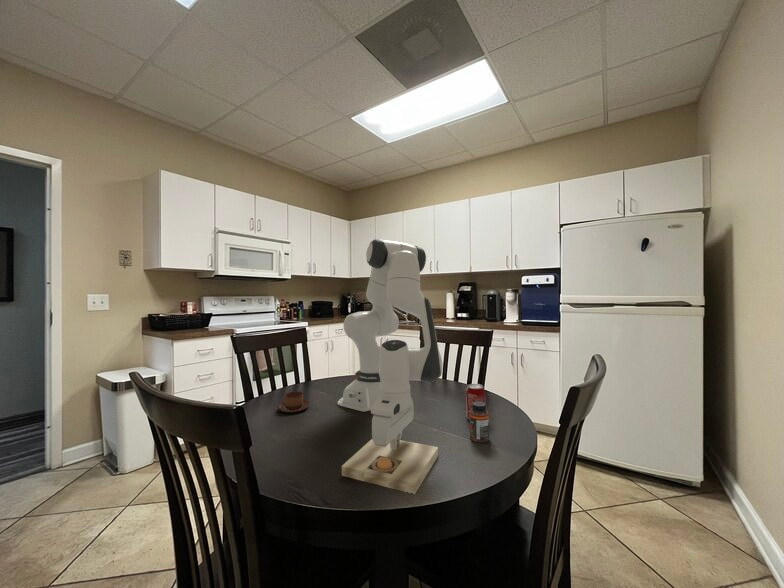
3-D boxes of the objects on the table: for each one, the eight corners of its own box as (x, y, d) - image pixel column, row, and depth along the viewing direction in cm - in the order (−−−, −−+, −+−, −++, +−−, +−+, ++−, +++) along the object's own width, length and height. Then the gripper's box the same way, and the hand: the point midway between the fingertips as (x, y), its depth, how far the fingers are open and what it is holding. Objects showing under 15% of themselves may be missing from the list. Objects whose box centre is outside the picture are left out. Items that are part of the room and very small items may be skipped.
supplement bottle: (467, 435, 106) (466, 400, 106) (485, 434, 106) (484, 399, 106) (473, 444, 100) (472, 407, 100) (492, 442, 100) (491, 406, 100)
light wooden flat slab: (341, 475, 84) (341, 465, 84) (375, 443, 101) (375, 435, 101) (414, 494, 76) (414, 483, 76) (438, 455, 93) (438, 447, 93)
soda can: (486, 423, 115) (485, 389, 115) (466, 421, 117) (466, 388, 116) (484, 415, 122) (484, 383, 122) (466, 414, 123) (465, 383, 123)
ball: (373, 466, 83) (380, 452, 86) (375, 475, 85) (381, 461, 88) (388, 471, 81) (394, 457, 84) (389, 480, 83) (395, 466, 86)
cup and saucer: (272, 412, 130) (271, 397, 130) (291, 403, 141) (291, 388, 141) (296, 416, 125) (296, 400, 125) (315, 406, 136) (314, 391, 136)
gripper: (399, 387, 103) (400, 430, 103) (367, 409, 84) (368, 462, 85) (418, 389, 100) (418, 434, 100) (389, 413, 82) (390, 468, 82)
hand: (395, 447), depth 92 cm, fingers closed
